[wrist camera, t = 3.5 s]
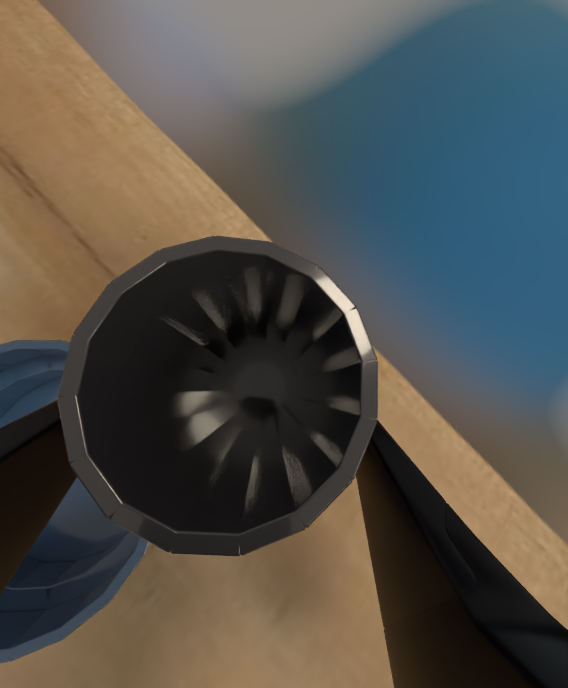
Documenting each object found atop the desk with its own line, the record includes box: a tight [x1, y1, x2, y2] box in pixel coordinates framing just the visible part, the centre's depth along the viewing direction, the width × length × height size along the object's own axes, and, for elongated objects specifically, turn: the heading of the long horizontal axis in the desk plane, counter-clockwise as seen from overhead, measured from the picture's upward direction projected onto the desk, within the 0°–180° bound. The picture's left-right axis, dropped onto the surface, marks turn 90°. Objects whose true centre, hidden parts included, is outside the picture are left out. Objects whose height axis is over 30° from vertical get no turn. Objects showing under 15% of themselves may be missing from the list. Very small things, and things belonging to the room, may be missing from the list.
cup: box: [57, 236, 378, 556], centre depth 11 cm, size 7×7×12 cm
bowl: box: [0, 340, 153, 663], centre depth 14 cm, size 14×14×4 cm
